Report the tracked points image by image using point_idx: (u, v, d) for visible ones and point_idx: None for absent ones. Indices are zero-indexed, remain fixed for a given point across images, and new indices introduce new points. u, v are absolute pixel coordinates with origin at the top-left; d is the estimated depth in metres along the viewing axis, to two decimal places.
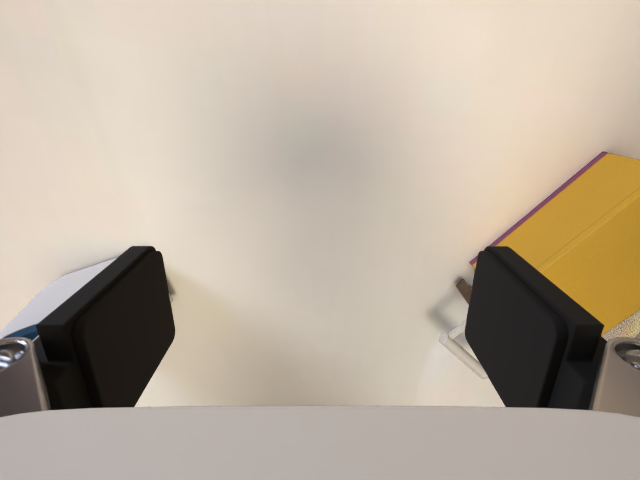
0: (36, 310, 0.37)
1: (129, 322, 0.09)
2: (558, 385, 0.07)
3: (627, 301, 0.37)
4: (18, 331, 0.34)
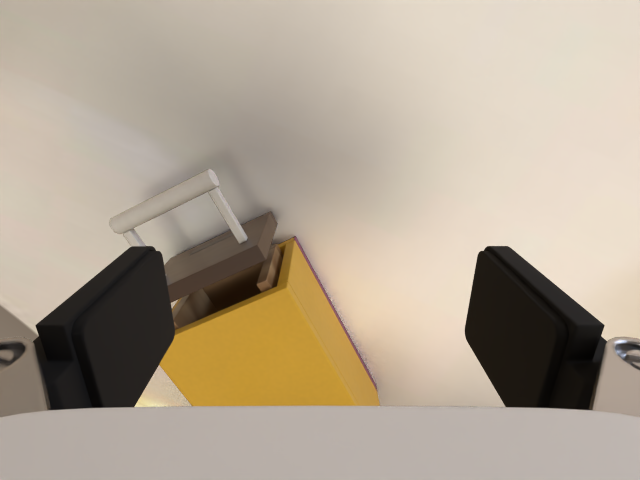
0: None
1: (129, 322, 0.09)
2: (558, 385, 0.07)
3: None
4: None
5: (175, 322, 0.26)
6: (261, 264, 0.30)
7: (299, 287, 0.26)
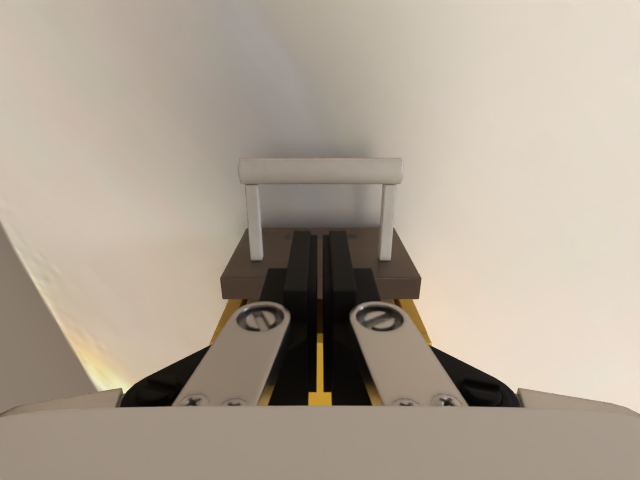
0: None
1: None
2: (332, 345, 0.08)
3: None
4: None
5: None
6: None
7: None
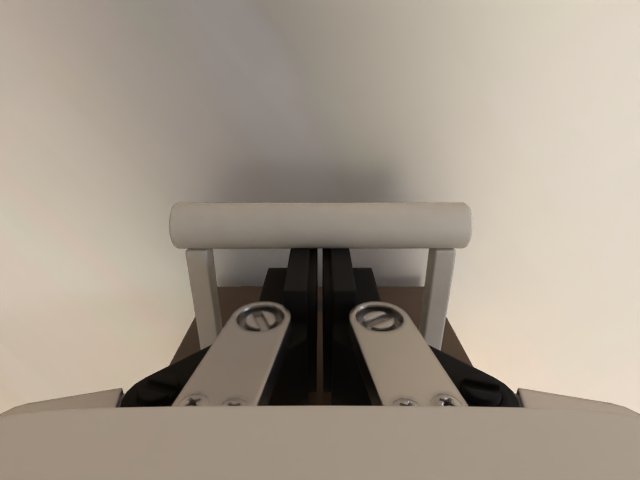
0: None
1: None
2: (332, 345, 0.08)
3: None
4: None
5: None
6: None
7: None
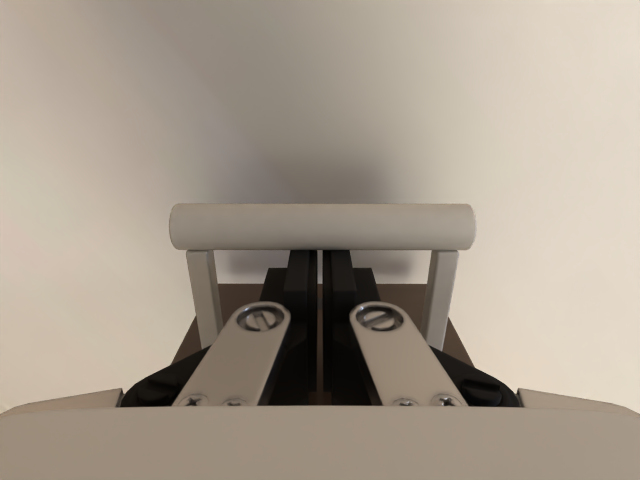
0: None
1: None
2: (332, 345, 0.08)
3: None
4: None
5: None
6: None
7: None
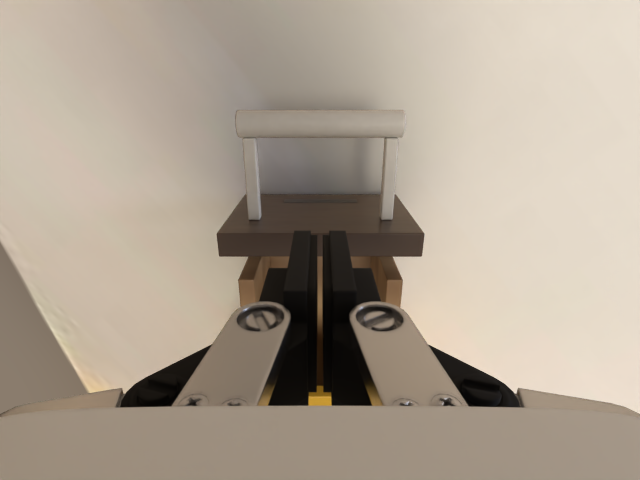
0: None
1: None
2: (332, 345, 0.08)
3: None
4: None
5: (254, 282, 0.19)
6: None
7: None
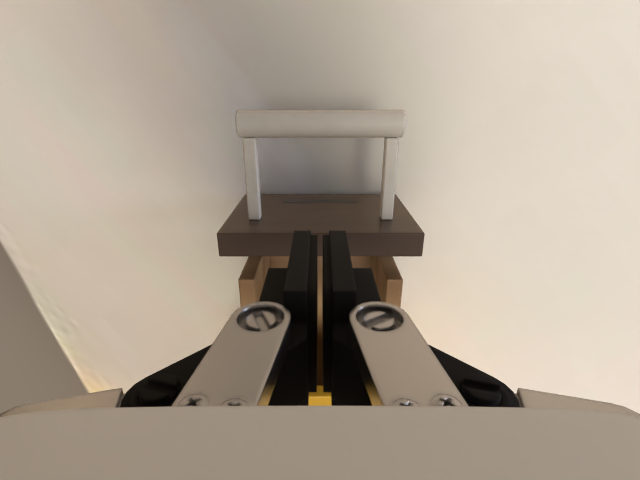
0: None
1: None
2: (332, 345, 0.08)
3: None
4: None
5: (254, 282, 0.19)
6: None
7: None
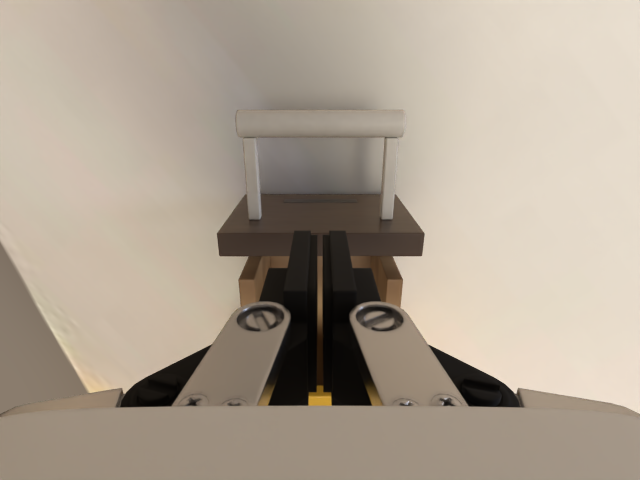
0: None
1: None
2: (332, 345, 0.08)
3: None
4: None
5: (254, 282, 0.19)
6: None
7: None
